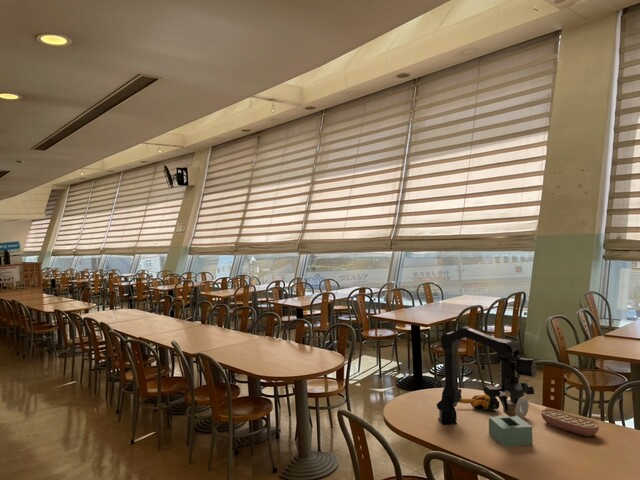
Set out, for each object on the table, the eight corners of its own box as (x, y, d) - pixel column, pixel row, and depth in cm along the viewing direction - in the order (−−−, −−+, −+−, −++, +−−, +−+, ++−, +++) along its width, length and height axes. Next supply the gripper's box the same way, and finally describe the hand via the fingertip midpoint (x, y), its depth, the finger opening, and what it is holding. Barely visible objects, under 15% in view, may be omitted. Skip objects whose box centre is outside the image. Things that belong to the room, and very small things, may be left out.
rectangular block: (509, 416, 185) (509, 404, 185) (503, 412, 190) (503, 400, 190) (515, 416, 186) (515, 403, 186) (509, 411, 191) (508, 399, 191)
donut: (517, 422, 204) (516, 399, 204) (510, 419, 207) (509, 397, 207) (530, 416, 210) (530, 394, 210) (523, 414, 213) (523, 392, 213)
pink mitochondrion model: (603, 436, 189) (603, 423, 189) (591, 442, 183) (590, 430, 183) (548, 418, 208) (548, 407, 208) (536, 424, 202) (535, 412, 202)
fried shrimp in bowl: (503, 405, 213) (464, 392, 215) (494, 422, 217) (456, 409, 219) (501, 391, 221) (463, 379, 223) (492, 408, 226) (455, 395, 228)
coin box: (503, 446, 181) (502, 428, 181) (489, 433, 193) (488, 416, 193) (532, 444, 183) (532, 426, 183) (516, 431, 195) (516, 415, 194)
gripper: (495, 380, 179) (496, 420, 179) (541, 377, 181) (542, 417, 181) (482, 371, 190) (483, 410, 190) (526, 369, 192) (527, 407, 192)
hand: (509, 411), depth 188 cm, fingers closed on rectangular block, 2 cm apart
